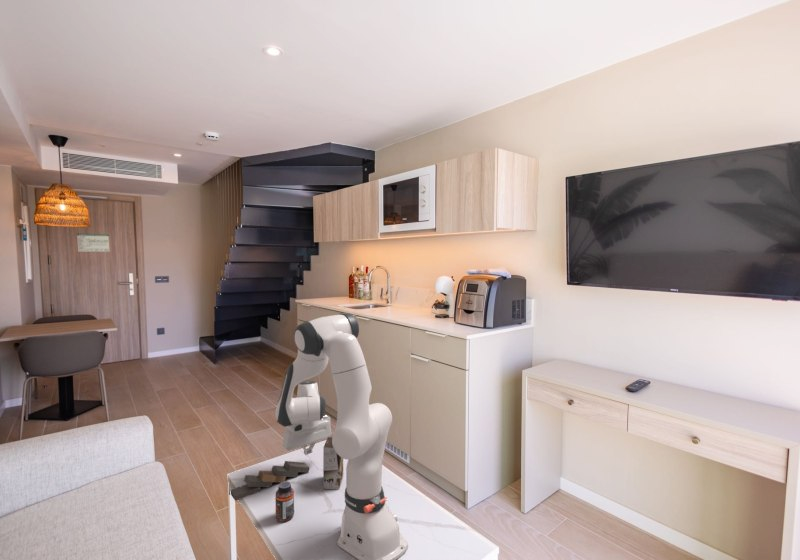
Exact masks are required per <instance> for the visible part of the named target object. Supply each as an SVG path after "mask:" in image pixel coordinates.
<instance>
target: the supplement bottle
mask: <svg viewBox="0 0 800 560" xmlns="http://www.w3.org/2000/svg"><path fill="white" fill-rule="evenodd" d="M277 488H278V489H277V490H276V491H275V496H274V497H275V498H274V499H275V520H277V521H278V522H281V523H283V522H284V523H286V522H288V521H290V520H291V519H293V517H294V515H295V492H294V488H293V487H292V484H291V482H290V481H288V480H287V481H286V480H285V481H284V482H279V483H278V487H277Z"/></svg>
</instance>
